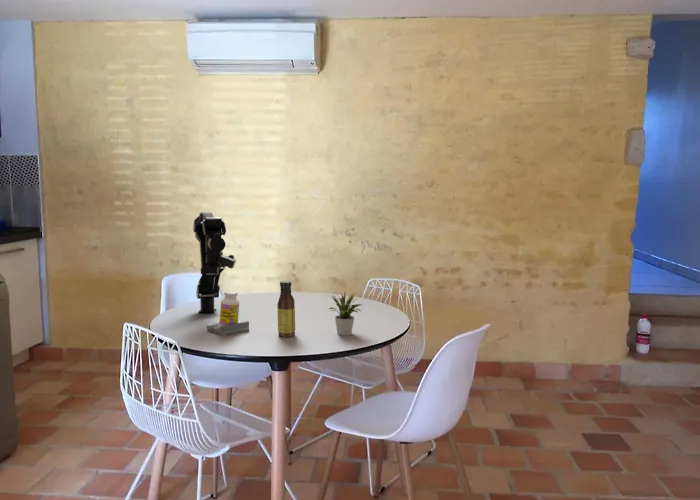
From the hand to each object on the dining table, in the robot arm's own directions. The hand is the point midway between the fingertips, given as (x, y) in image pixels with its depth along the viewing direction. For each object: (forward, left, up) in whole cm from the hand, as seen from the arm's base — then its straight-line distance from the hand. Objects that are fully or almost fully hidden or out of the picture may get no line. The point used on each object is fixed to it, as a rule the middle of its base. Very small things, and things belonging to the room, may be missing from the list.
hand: (213, 288), depth 213 cm
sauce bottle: (+21, +30, -13) cm, 39 cm away
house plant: (+19, +50, -13) cm, 55 cm away
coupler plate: (+14, +8, -13) cm, 21 cm away
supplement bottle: (+14, +8, -11) cm, 20 cm away
